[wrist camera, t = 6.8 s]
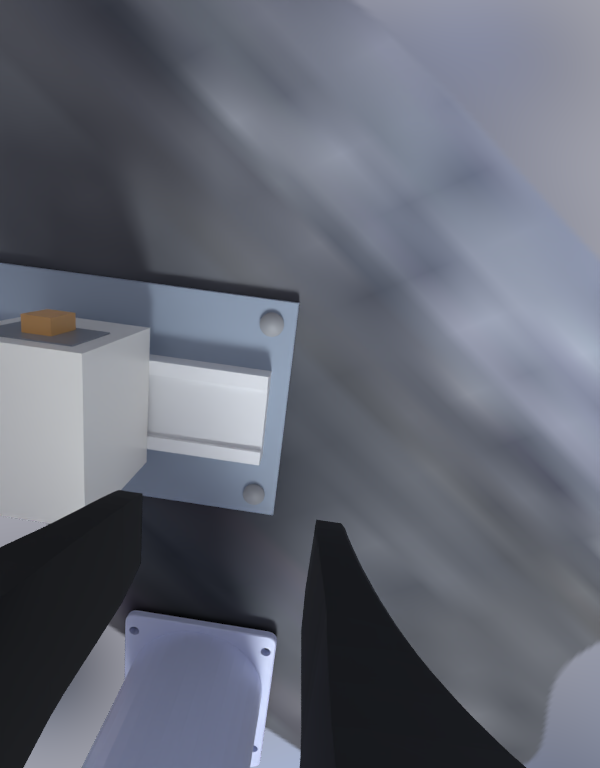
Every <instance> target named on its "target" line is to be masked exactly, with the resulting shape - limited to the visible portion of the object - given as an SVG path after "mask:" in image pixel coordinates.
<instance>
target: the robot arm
mask: <svg viewBox="0 0 600 768" xmlns="http://www.w3.org/2000/svg"><path fill="white" fill-rule="evenodd" d="M142 494H143V493H136V492H129V491H123V490H117V491H115V492H112V493H110V494H108V495H106V496H104V497H102V498H100V499H98V500H96V501H94V502H92V503H90V504H88V505H86V506H84V507H82V508H80V509H79V510H77V511H75V512H73V513H71V514H69V515H67V516H65V517H63V518H61V519H59V520H57V521H55V522H53V523H51V524H49V525H47V526H45V527H43V528H41V529H39V530H37V531H35V532H33V533H30V534H28V535H26V536H24V537H22V538H19V539H17V540H15V541H13V542H11V543H9V544H7V545H4V546H2V547H1V548H0V768H23V767H24V765H25V763H26V761H27V760H28V758H29V756H30V754H31V752H32V750H33V748H34V746H35V744H36V743H37V740H38V739H39V737H40V735H41V733H42V731H43V729H44V727H45V725H46V724H47V721H48V720H49V718H50V716H51V714H52V713H53V711H54V709H55V708H56V706H57V704H58V703H59V701H60V699H61V697H62V696H63V694H64V692H65V691H66V689H67V688H68V686H69V685H70V683H71V682H72V680H73V678H74V677H75V675H76V674H77V672H78V671H79V669H80V667H81V666H82V664H83V663H84V661H85V660H86V658H87V657H88V655H89V654H90V652H91V650H92V649H93V647H94V646H95V644H96V643H97V641H98V639H99V638H100V636H101V635H102V633H103V631H104V630H105V629H106V627H107V625H108V624H109V622H110V621H111V619H112V618H113V616H114V614H115V613H116V611H117V610H118V608H119V606H120V605H121V603H122V601H123V599H124V597H125V595H126V593H127V591H128V589H129V587H130V585H131V583H132V581H133V579H134V577H135V575H136V572H137V570H138V568H139V566H140V564H141V534H142ZM135 627H136V628H135ZM137 628H138V629H137ZM276 644H277V637H276V636H275V634H273V633H272V632H269V631H263V630H256V629H250V628H244V627H238V626H232V625H225V624H219V623H213V622H207V621H200V620H194V619H188V618H182V617H175V616H169V615H163V614H157V613H151V612H144V611H138V610H134V611H131V612H130V613H129V614H128V616H127V618H126V621H125V681H124V683H123V685H122V687H121V689H120V691H119V693H118V695H117V697H116V699H115V701H114V703H113V705H112V707H111V709H110V711H109V713H108V715H107V717H106V719H105V721H104V723H103V725H102V727H101V729H100V731H99V733H98V735H97V737H96V739H95V741H94V744H93V745H92V747H91V749H90V752H89V753H88V756H87V758H86V760H85V762H84V764H83V766H82V768H250V767H255V766H257V765H258V764H259V763H260V759H261V752H262V745H263V738H264V731H265V723H266V716H267V709H268V702H269V694H270V687H271V680H272V673H273V666H274V658H275V651H276ZM264 648H267V649H269V650H266V649H264ZM300 768H526V767H525V766H524V765H523V764H521V763H520V762H519V761H518V760H517V759H516V758H515V757H513V756H512V755H511V754H510V753H509V752H508V751H507V750H506V749H505V748H504V747H503V746H502V745H500V744H499V743H498V742H497V741H496V740H495V739H494V738H493V737H492V736H491V735H490V734H489V733H488V732H487V731H486V730H485V729H484V728H483V727H482V726H481V725H480V724H479V723H478V722H477V721H476V720H475V719H474V718H473V717H472V716H471V715H470V714H469V713H468V712H467V711H466V710H465V709H464V708H463V707H462V705H461V704H460V703H459V702H458V701H457V700H456V699H455V698H454V697H453V696H452V694H451V693H450V692H449V691H448V690H447V689H446V688H445V687H444V685H443V684H442V683H441V682H440V681H439V680H438V679H437V678H436V677H435V675H434V674H433V673H432V672H431V671H430V670H429V668H428V667H427V666H426V665H425V663H424V662H423V661H422V660H421V658H420V657H419V656H418V655H417V653H416V652H415V651H414V649H413V648H412V647H411V645H410V644H409V643H408V641H407V640H406V639H405V637H404V636H403V634H402V633H401V632H400V630H399V629H398V627H397V626H396V624H395V623H394V621H393V620H392V618H391V617H390V615H389V614H388V612H387V610H386V609H385V607H384V606H383V604H382V602H381V601H380V599H379V597H378V596H377V594H376V592H375V591H374V589H373V587H372V585H371V583H370V581H369V580H368V578H367V576H366V574H365V572H364V570H363V569H362V567H361V565H360V563H359V561H358V558H357V556H356V554H355V552H354V550H353V548H352V545H351V543H350V541H349V538H348V536H347V533H346V530H345V528H344V527H343V525H342V524H341V523H335V522H328V521H321V520H316V525H315V531H314V538H313V544H312V551H311V557H310V564H309V570H308V577H307V583H306V590H305V599H304V609H303V619H302V630H301V759H300Z"/></svg>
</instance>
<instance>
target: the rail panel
mask: <svg viewBox="0 0 600 768" xmlns="http://www.w3.org/2000/svg"><path fill="white" fill-rule="evenodd" d="M45 309H52V310H59V311H66V312H74V313H75V314H76V318H82V319H90V320H97V321H104V322H112V323H119V324H126V325H133V326H141V327H148V328H150V354H149V391H148V427H147V462H146V463H145V464H144V465H143V467H142V468H141V469H140V470H139V471H138V472H137V473H136V474H135V475H134V476H133V477H132V479H131V480H130V481H129V482H128V483H127V484H126V485H125V486H124V487H123V488H122V489H121V490H123V491H129V492H136V493H143V494H142V496H149V497H155V498H162V499H168V500H175V501H182V502H188V503H195V504H201V505H208V506H215V507H221V508H228V509H235V510H241V511H248V512H254V513H261V514H268V515H273V513H274V507H275V499H276V490H277V482H278V474H279V466H280V458H281V450H282V442H283V433H284V425H285V417H286V409H287V401H288V393H289V384H290V376H291V368H292V360H293V352H294V344H295V336H296V327H297V319H298V311H299V302H292V301H284V300H277V299H269V298H262V297H254V296H247V295H239V294H232V293H224V292H217V291H210V290H202V289H195V288H187V287H180V286H172V285H165V284H157V283H150V282H142V281H135V280H127V279H120V278H112V277H105V276H97V275H90V274H82V273H75V272H67V271H60V270H53V269H45V268H38V267H30V266H23V265H15V264H8V263H0V321H2V320H7V319H12V318H18V317H21V315H20V314H22V313H28V312H33V311H39V310H45Z"/></svg>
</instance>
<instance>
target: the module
mask: <svg viewBox="0 0 600 768" xmlns="http://www.w3.org/2000/svg"><path fill="white" fill-rule="evenodd" d="M20 315H21V317H18V318H12V319H7V320H2V321H0V516H3V517H9V518H15V519H22V520H28V521H35V522H42V523H48V524H51V523H53V522H55V521H57V520H59V519H61V518H63V517H65V516H67V515H69V514H71V513H73V512H75V511H77V510H79V509H80V508H82V507H84V506H86V505H88V504H90V503H92V502H94V501H96V500H98V499H100V498H102V497H104V496H106V495H108V494H110V493H112V492H115V491H117V490H121V489H122V488H123V487H124V486H125V485H126V484H127V483H128V482H129V481H130V480H131V479H132V477H133V476H134V475H135V474H136V473H137V472H138V471H139V470H140V469H141V468H142V467H143V465H144V464H145V463H146V462H147V427H148V391H149V354H150V328H148V327H141V326H133V325H126V324H119V323H112V322H104V321H97V320H90V319H82V318H76V314H75V313H74V312H66V311H59V310H52V309H45V310H39V311H33V312H28V313H22V314H20Z"/></svg>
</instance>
